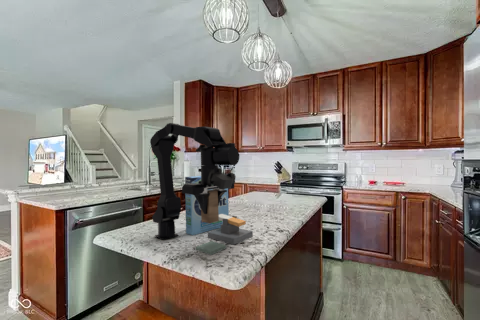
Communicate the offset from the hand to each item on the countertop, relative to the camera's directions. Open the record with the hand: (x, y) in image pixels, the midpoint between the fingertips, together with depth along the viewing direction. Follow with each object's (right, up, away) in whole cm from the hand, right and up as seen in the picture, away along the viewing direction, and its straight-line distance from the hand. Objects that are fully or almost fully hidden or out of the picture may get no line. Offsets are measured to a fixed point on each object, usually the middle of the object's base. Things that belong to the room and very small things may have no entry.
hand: (210, 212), depth 78 cm
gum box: (-4, -12, +23) cm, 26 cm away
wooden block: (0, -3, 0) cm, 3 cm away
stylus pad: (0, -12, 0) cm, 12 cm away
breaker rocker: (+6, -5, +12) cm, 14 cm away
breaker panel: (+6, -12, +12) cm, 18 cm away
